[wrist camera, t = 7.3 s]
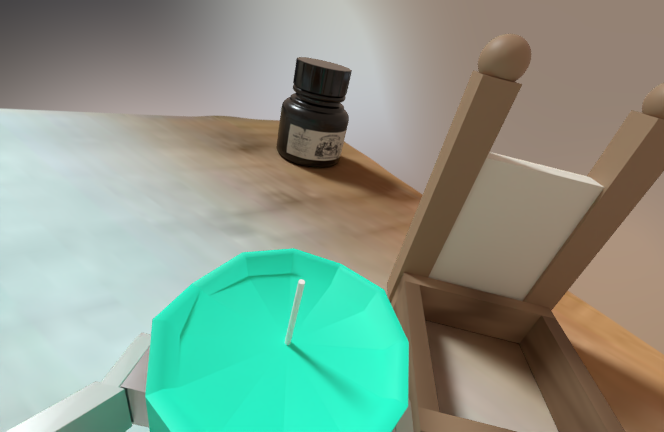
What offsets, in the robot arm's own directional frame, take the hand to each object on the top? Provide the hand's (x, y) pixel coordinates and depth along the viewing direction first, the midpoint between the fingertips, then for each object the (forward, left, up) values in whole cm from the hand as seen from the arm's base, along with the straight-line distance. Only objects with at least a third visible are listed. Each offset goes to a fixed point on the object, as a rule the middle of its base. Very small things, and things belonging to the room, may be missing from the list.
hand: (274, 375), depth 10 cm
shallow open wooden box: (+12, +7, -7) cm, 15 cm away
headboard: (+12, +13, -7) cm, 19 cm away
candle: (0, -1, -7) cm, 7 cm away
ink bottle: (-5, +37, -7) cm, 38 cm away
